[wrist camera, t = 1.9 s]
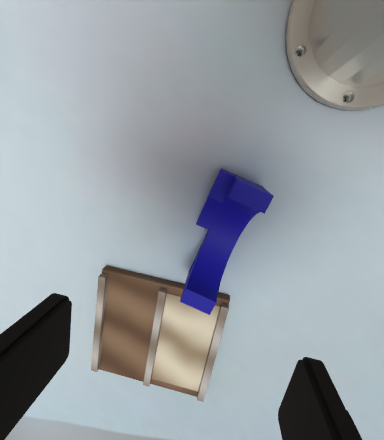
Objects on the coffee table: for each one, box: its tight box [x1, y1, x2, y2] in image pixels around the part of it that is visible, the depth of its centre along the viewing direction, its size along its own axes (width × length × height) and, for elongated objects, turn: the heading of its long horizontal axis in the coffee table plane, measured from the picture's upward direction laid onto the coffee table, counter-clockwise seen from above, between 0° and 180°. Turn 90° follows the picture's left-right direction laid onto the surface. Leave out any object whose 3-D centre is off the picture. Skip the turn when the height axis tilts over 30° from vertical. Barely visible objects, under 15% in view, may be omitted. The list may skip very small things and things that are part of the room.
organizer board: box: [91, 266, 230, 402], centre depth 29 cm, size 15×15×2 cm
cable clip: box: [180, 169, 273, 315], centre depth 23 cm, size 12×4×6 cm, turn 157°
